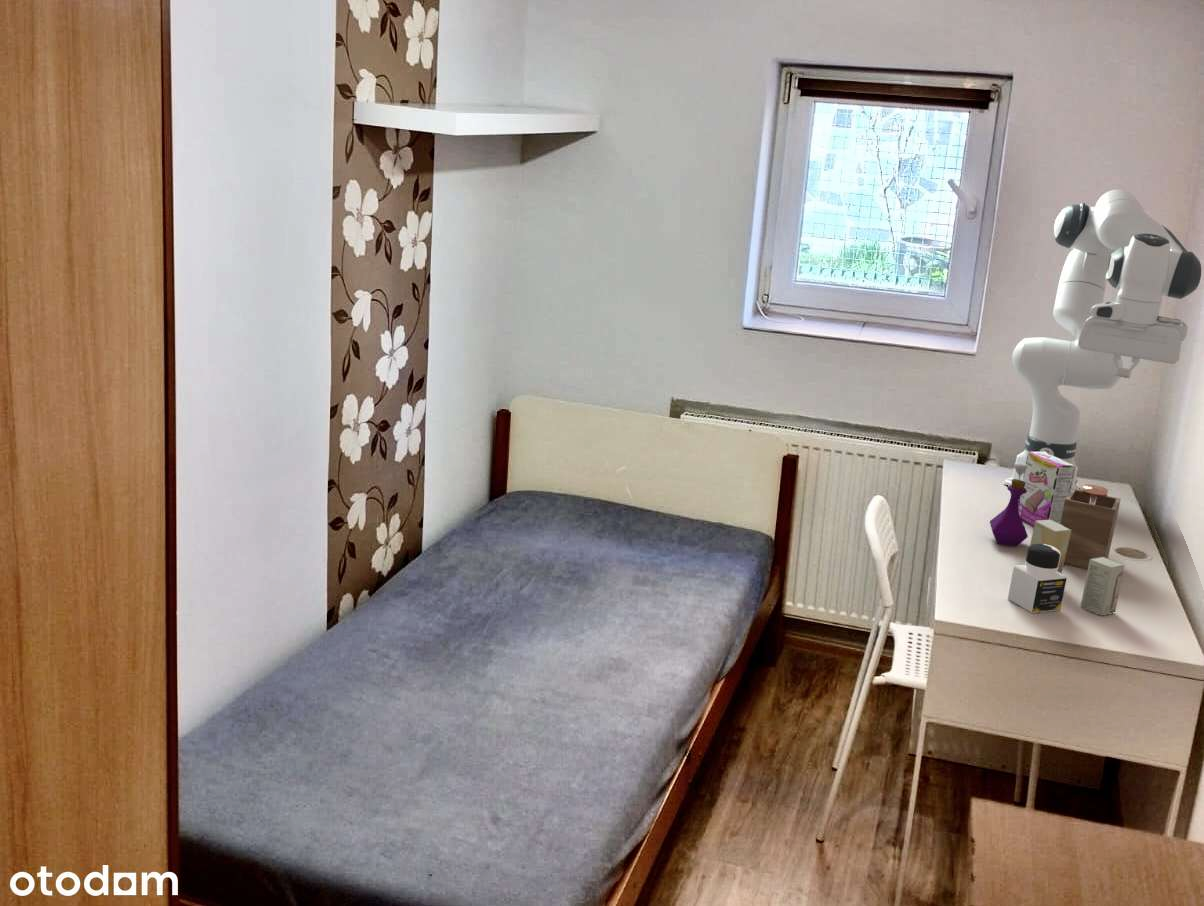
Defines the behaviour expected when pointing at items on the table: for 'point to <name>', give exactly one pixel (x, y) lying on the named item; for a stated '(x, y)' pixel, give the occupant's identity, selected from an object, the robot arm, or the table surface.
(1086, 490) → the table lamp
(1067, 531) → the skincare box
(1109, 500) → the wooden box
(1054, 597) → the medicine bottle
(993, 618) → the table surface
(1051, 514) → the candy bar box
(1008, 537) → the perfume bottle
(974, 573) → the table surface
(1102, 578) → the skincare box
